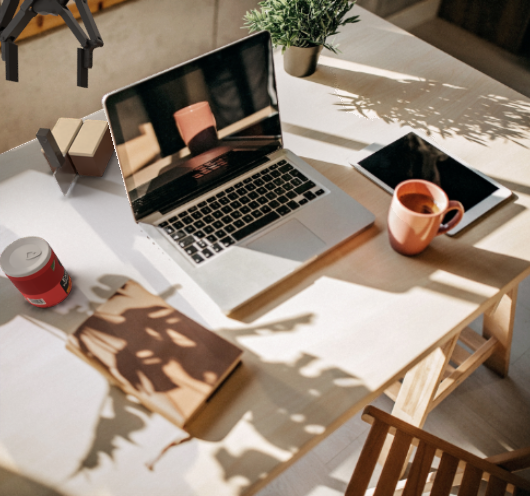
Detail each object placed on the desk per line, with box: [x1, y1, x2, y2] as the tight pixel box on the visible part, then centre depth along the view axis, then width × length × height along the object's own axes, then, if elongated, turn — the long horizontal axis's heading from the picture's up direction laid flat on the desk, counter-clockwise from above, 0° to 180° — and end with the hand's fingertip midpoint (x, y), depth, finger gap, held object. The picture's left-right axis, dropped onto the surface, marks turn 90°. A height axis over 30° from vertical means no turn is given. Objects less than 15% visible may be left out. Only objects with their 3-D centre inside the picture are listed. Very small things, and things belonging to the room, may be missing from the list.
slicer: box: [35, 127, 77, 197], centre depth 95 cm, size 6×2×14 cm, turn 172°
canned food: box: [0, 235, 73, 309], centre depth 83 cm, size 8×8×11 cm
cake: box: [40, 117, 115, 178], centre depth 104 cm, size 10×11×7 cm
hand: (47, 84), depth 90 cm, fingers open, 13 cm apart
